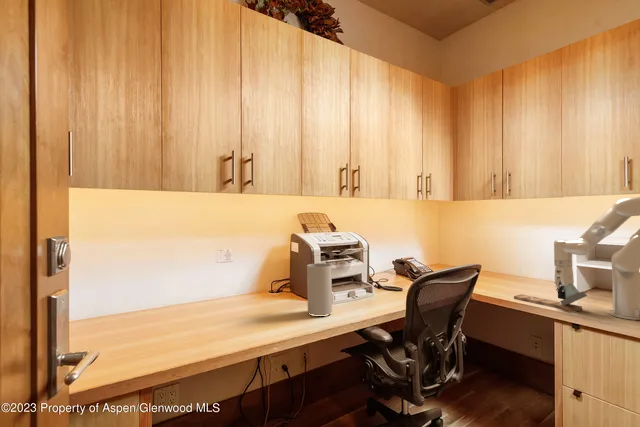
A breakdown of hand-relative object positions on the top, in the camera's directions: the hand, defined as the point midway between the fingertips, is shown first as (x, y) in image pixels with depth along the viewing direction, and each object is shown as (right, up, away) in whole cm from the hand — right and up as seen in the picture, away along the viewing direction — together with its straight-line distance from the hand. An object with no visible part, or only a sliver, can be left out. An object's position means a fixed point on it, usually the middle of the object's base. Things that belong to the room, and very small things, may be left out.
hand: (563, 297), depth 168 cm
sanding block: (+2, 0, -4) cm, 5 cm away
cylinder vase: (-129, -7, -4) cm, 129 cm away
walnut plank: (-4, -5, +8) cm, 10 cm away
